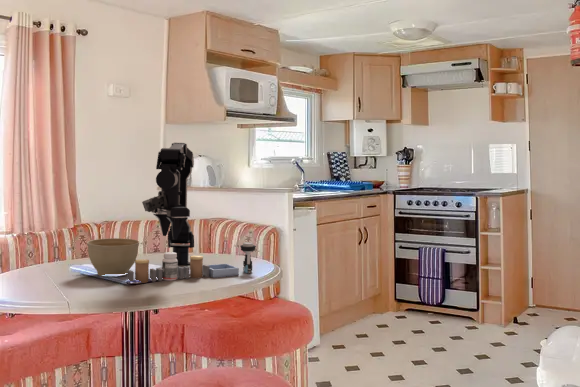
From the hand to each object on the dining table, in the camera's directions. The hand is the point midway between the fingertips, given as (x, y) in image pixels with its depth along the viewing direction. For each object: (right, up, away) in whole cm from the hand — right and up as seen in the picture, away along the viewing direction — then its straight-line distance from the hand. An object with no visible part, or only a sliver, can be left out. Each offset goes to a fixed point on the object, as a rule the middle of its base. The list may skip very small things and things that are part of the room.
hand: (169, 237), depth 181 cm
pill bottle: (0, -14, +1) cm, 14 cm away
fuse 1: (-8, -13, -4) cm, 16 cm away
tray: (+15, -13, +11) cm, 22 cm away
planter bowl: (-19, -13, +5) cm, 24 cm away
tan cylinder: (+8, -13, +5) cm, 16 cm away
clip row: (0, -13, +1) cm, 13 cm away
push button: (+24, -13, +16) cm, 31 cm away
